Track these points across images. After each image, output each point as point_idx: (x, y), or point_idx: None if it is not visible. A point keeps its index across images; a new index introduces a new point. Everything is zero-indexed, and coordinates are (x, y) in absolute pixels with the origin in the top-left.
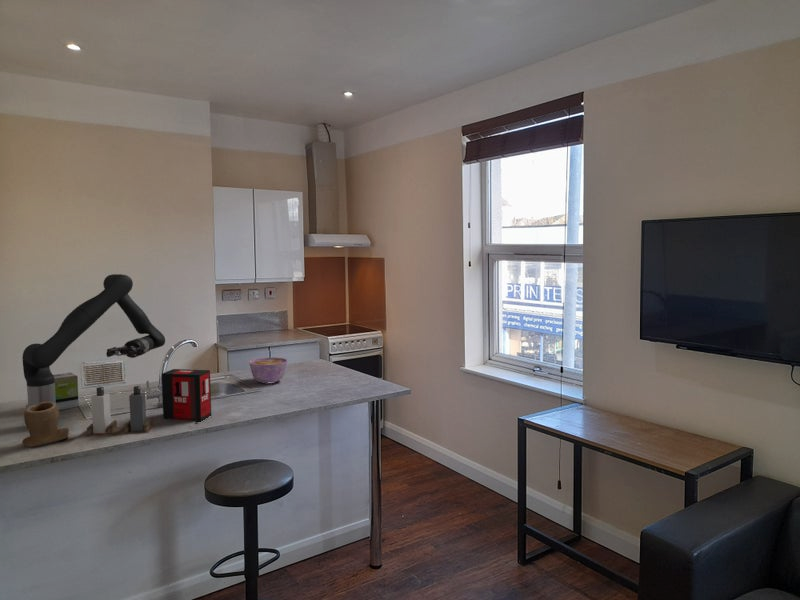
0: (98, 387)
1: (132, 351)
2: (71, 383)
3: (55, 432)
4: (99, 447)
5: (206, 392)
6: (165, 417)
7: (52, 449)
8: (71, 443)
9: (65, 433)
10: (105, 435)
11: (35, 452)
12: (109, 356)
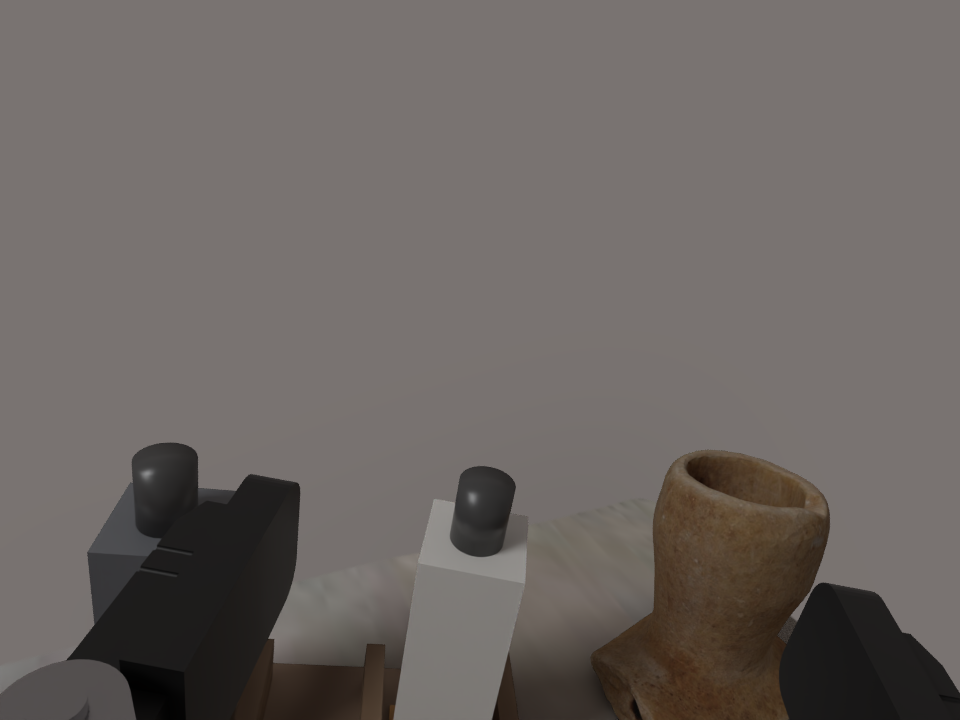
0: (505, 491)
1: (176, 596)
2: None
3: (650, 621)
4: (376, 563)
5: None
6: None
7: (589, 587)
8: (545, 641)
9: (615, 658)
10: (387, 669)
11: (641, 572)
12: (789, 699)
